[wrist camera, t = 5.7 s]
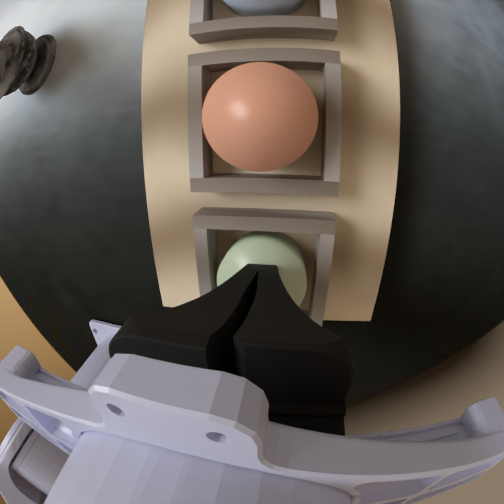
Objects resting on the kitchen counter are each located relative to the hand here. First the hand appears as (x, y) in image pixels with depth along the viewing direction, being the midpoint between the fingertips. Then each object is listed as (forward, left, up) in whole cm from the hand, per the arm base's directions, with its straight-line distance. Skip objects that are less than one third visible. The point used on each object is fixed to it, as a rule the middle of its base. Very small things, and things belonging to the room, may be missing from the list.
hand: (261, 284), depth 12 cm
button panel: (+7, 0, -4) cm, 8 cm away
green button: (0, 0, -2) cm, 2 cm away
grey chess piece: (+15, +18, -4) cm, 24 cm away
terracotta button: (+7, 0, -1) cm, 7 cm away
